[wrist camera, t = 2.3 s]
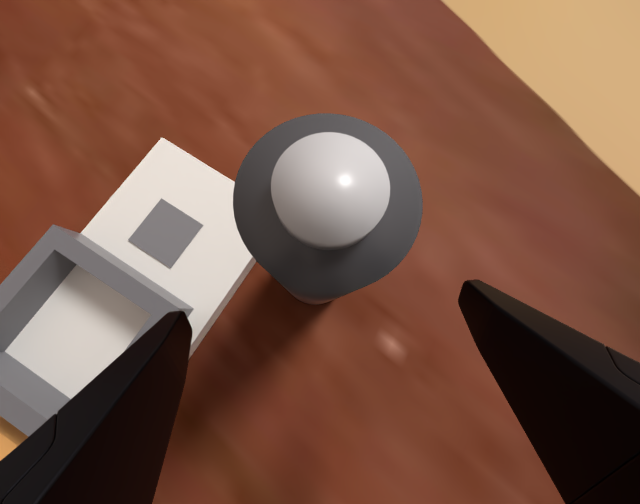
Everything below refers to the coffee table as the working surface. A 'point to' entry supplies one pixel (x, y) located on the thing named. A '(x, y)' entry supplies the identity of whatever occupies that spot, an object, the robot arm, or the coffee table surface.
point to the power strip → (116, 284)
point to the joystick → (327, 205)
